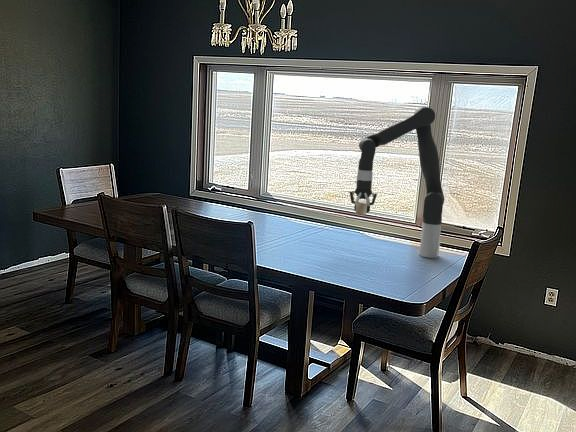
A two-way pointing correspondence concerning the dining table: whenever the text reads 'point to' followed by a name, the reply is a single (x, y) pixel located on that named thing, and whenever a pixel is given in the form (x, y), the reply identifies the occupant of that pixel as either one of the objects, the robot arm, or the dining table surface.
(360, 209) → the maple block
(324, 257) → the dining table surface
